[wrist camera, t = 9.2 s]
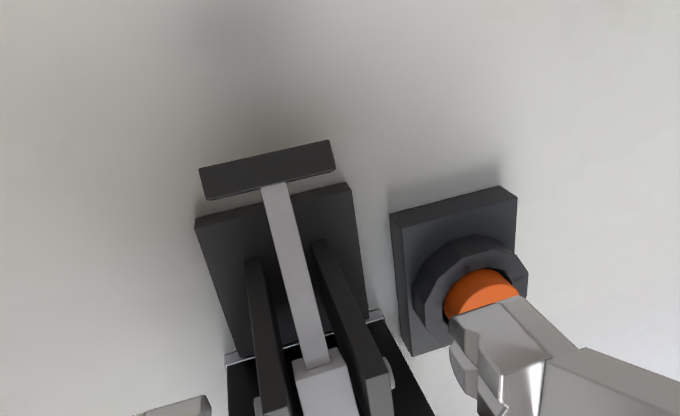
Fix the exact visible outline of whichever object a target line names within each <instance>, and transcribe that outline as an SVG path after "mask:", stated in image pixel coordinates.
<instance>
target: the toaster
mask: <svg viewBox="0 0 680 416" xmlns="http://www.w3.org/2000/svg"><path fill="white" fill-rule="evenodd" d="M365 322H366V324H367V327H368V329H369V331H370V333H371V335H372V337H373V339H374V341H375V343H376V345H377V348H378V350H379V352H380V354H381V356H382V357H385V358H386V359H387V361H388V363H389V365H390V367H391V370H392V373H393V377H394V381H395V388H394V389H392V390H391V392H392V400H393V408H394V416H435V415H434V413H433V411H432V409H431V407H430V405H429V404H428V402H427V400H426V398H425V396H424V394H423V392H422V390H421V389H420V387H419V385H418V383H417V381H416V379H415V377H414V376H413V374H412V372H411V370H410V368H409V366H408V364H407V363H406V361H405V359H404V357H403V355H402V353H401V351H400V349H399V348H398V346H397V344H396V342H395V340H394V338H393V336H392V335H391V333H390V331H389V329H388V327H387V325H386V323H385V319H384V316H383V314H382V312H381V310H380V309H377V310H374V311H371V312H369V319H367V320H365ZM324 336H325V339H326V343H327V347H328V350H329V349H332V348H335V347H337V348H338V350H339V352H340V349H339V346H338V343H337V341H336V338H335V335H334V333H333V330H331V331H328V332H325V333H324ZM282 346H283V351H284V356H285V361H286V366H287V370H288V375H289V380H290V385H291V390H292V395H293V400H294V405H295V409H296V414H297V416H304V415H303V411H302V407H301V403H300V399H299V395H298V391H297V387H296V383H295V378H294V373H293V367H292V361H293V360H297V359H300V358H303V355H302V351H301V347H300V344H299V340H298V341H295V342H291V343H288V344H285V345H282ZM340 353H341V352H340ZM341 355H342V354H341ZM224 363H225V368H226V371H227V389H228V412H229V416H256V415H255V410H254V398H256V397H260V392H259V384H258V376H257V367H256V359H255V354H252V355H248V356H245V357H242V358H240V357H239V355H238V352H234V353H231V354H227V355H225V356H224ZM350 380H351V379H350ZM351 384H352V382H351ZM352 388H353V392H354V396H355V400H356V404H357V408H358V412H359V416H364V414H363V412H362V409H361V406H360V404H359V401H358V398H357V395H356V393H355V390H354V387H353V384H352Z"/></svg>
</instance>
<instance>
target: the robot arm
mask: <svg viewBox="0 0 680 416" xmlns="http://www.w3.org/2000/svg"><path fill="white" fill-rule="evenodd" d="M448 329H449V333H450V334H451V336H452V337H453V339H454V341H453V342H452V344H451V345H450V347H449V355H450V362H451V365H452V369H453V372H454V374H455V377H456V379H457V381H458V383H459V384H460V386H461V388H462V389H463V391H464V392H465V394H467V395H469V396H471V397H473V398H475V399H477V413H478V414H479V416H680V382H678V381H675V380H673V379H670V378H667V377H665V376H662V375H659V374H657V373H654V372H651V371H649V370H646V369H643V368H641V367H638V366H635V365H632V364H630V363H627V362H624V361H622V360H619V359H616V358H614V357H611V356H608V355H606V354H603V353H600V352H597V351H595V350H592V349H589V348H587V347H585V348H581V349H578V348H577V347H576V346H575V345H574V344H573V343H572V342H571V341H569V340H568V339H567V338H566V337H565V336H564V335H563V334H562V333H561V332H560V331H559V330H558V329H557V328H556V327H555V326H554V325H552V324H551V323H550V322H549V321H548V320H547V319H546V318H545V317H544V316H543V315H542V314H541V313H540V312H539V311H538V310H536V309H535V308H534V307H533V306H532V305H531V304H530V303H529V302H528V301H527V300H526V299H525V298H524V297H521V296H519V295H516V296H513V297H510V298H507V299H504V300H501V301H497V302H495V303H491V304H488V305H485V306H482V307H479V308H476V309H472V310H469V311H466V312H463V313H460V314H457V315H454V316H451V317H450V319H449V322H448ZM133 416H211V406H210V403H209V401H208V399H207V397H206V395H201V396H197V397H194V398H190V399H187V400H183V401H180V402H176V403H173V404H169V405H166V406H162V407H159V408H155V409H152V410H149V411H147V412H143V413H140V414H136V415H133Z"/></svg>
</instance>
